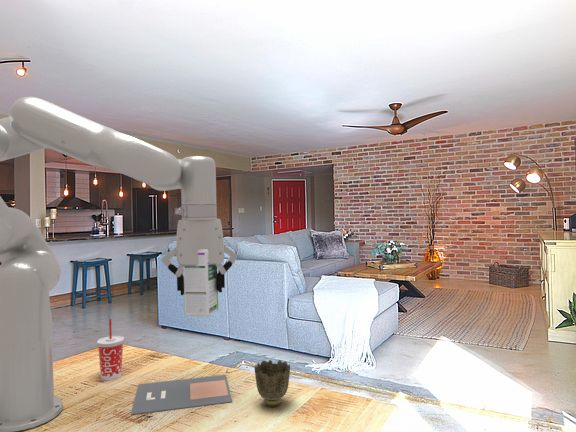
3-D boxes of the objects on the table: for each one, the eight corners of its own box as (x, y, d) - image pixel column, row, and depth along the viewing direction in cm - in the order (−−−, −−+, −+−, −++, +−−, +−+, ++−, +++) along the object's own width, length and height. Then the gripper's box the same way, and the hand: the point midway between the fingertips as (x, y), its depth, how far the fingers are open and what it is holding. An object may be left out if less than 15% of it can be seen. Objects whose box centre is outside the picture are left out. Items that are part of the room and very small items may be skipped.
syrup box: (208, 316, 87) (207, 249, 87) (183, 315, 88) (182, 248, 88) (218, 310, 93) (217, 246, 92) (194, 309, 94) (193, 246, 94)
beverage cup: (92, 381, 97) (90, 322, 96) (106, 370, 103) (105, 315, 102) (116, 382, 96) (115, 323, 96) (129, 371, 102) (128, 316, 102)
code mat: (130, 414, 81) (130, 413, 81) (138, 385, 94) (138, 384, 94) (232, 402, 86) (232, 401, 86) (225, 375, 99) (225, 374, 99)
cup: (250, 411, 82) (250, 372, 81) (258, 394, 89) (258, 358, 89) (287, 414, 80) (287, 374, 80) (292, 396, 88) (292, 360, 88)
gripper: (156, 214, 84) (159, 299, 85) (241, 212, 88) (242, 293, 89) (159, 213, 91) (161, 292, 92) (236, 212, 96) (238, 286, 96)
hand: (201, 292), depth 90 cm, fingers closed on syrup box, 7 cm apart
